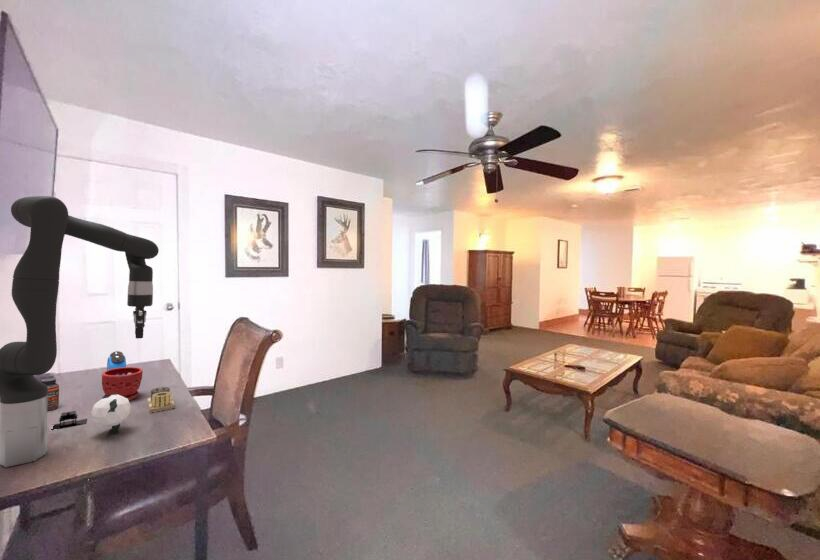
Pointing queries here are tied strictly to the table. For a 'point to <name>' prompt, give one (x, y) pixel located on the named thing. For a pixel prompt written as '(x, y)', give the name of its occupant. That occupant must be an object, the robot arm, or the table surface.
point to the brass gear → (161, 399)
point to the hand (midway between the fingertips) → (138, 336)
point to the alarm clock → (116, 361)
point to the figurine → (111, 412)
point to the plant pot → (122, 382)
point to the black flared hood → (70, 423)
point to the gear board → (154, 409)
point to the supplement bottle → (52, 393)
